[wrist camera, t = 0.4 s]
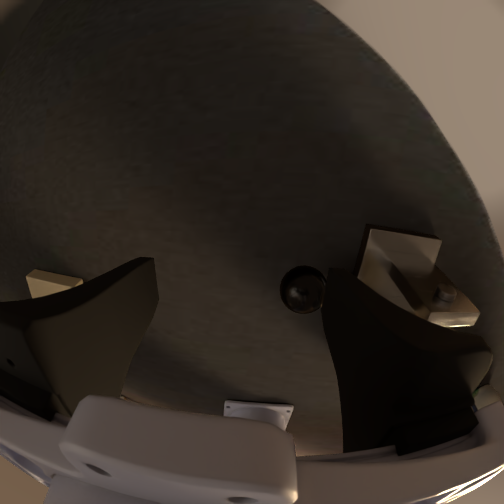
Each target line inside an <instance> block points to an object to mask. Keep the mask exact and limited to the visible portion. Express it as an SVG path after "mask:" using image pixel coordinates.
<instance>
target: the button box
mask: <svg viewBox="0 0 504 504" xmlns="http://www.w3.org/2000/svg"><path fill="white" fill-rule="evenodd" d="M26 279H27V282H28V286H29V289H30V292H31V296H32V298H37V297H42V296H46V295H50V294H53V293H57V292H60V291H64V290H67V289H70V288H72V287H75V286H78V285H80V284H83V280H82V279H81V278H75V277H70V276H65V275H60V274H55V273H51V272H46V271H41V270H37V269H34V270H33V271H32V272H31V273H29V274H28V275H27V276H26Z"/></svg>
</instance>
